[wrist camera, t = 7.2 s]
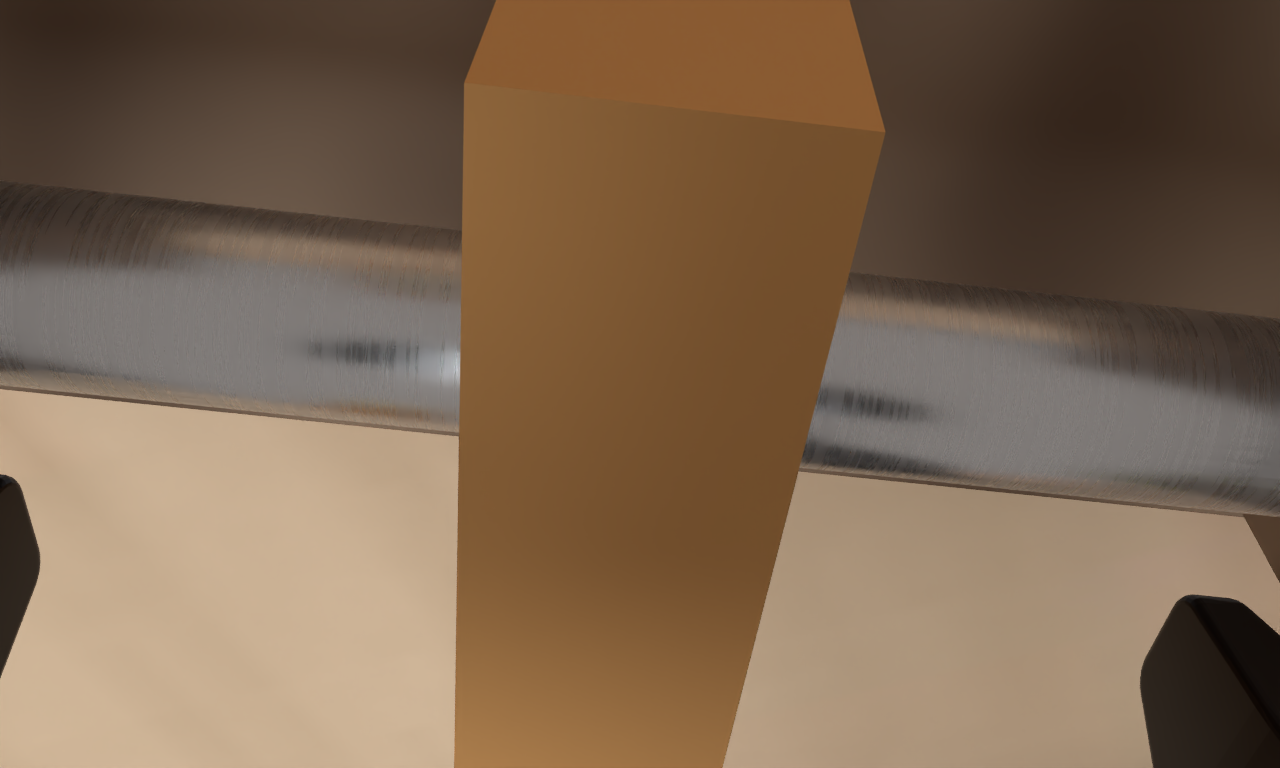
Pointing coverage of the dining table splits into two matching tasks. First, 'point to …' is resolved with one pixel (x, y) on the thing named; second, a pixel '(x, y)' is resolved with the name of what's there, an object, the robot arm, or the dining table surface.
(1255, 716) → the robot arm
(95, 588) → the dining table surface
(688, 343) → the wooden bracket
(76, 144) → the hook stand
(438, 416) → the hook rod
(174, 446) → the dining table surface
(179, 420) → the dining table surface
